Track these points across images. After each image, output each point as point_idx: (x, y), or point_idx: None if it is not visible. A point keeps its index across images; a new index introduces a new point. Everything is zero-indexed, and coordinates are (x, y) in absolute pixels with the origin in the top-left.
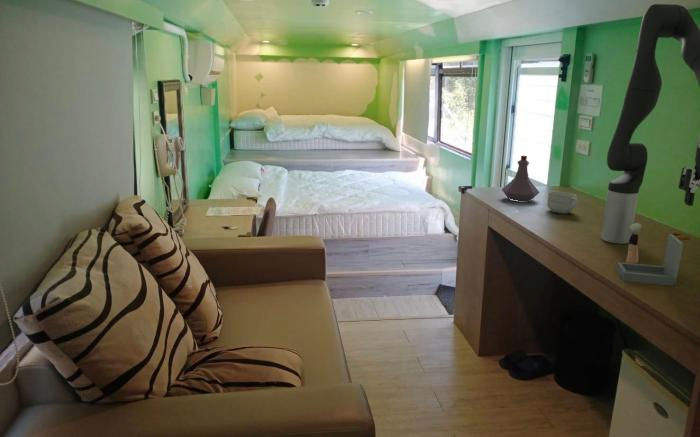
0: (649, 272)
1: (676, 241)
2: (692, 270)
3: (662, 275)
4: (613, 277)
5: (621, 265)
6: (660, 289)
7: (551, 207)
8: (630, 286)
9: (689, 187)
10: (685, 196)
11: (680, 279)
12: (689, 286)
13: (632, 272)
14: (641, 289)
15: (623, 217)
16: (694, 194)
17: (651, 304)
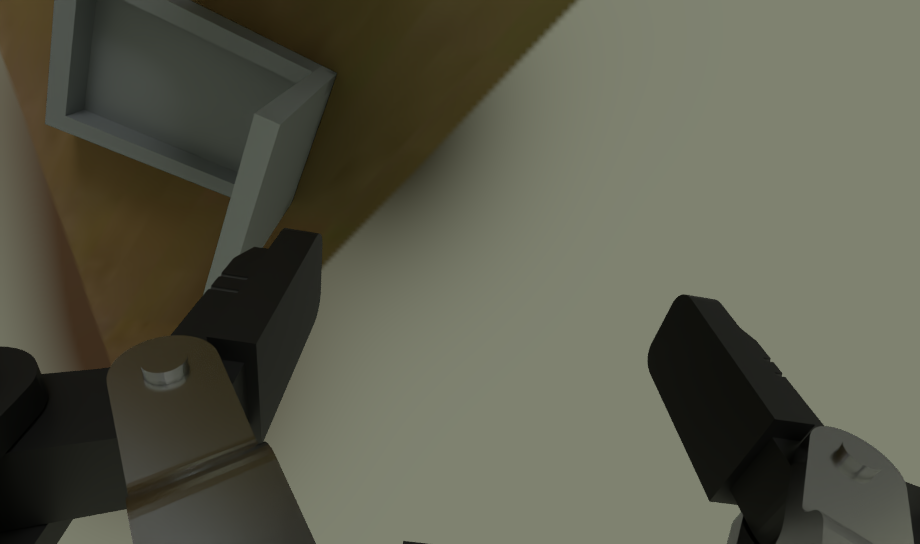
0: (243, 67)
1: (214, 258)
2: (526, 41)
3: (230, 185)
4: (38, 60)
5: (67, 13)
6: (207, 221)
7: None
8: (87, 175)
9: (102, 509)
10: (204, 307)
11: (370, 140)
12: (351, 212)
13: (92, 127)
14: (124, 210)
15: None
16: (264, 425)
17: (102, 321)
